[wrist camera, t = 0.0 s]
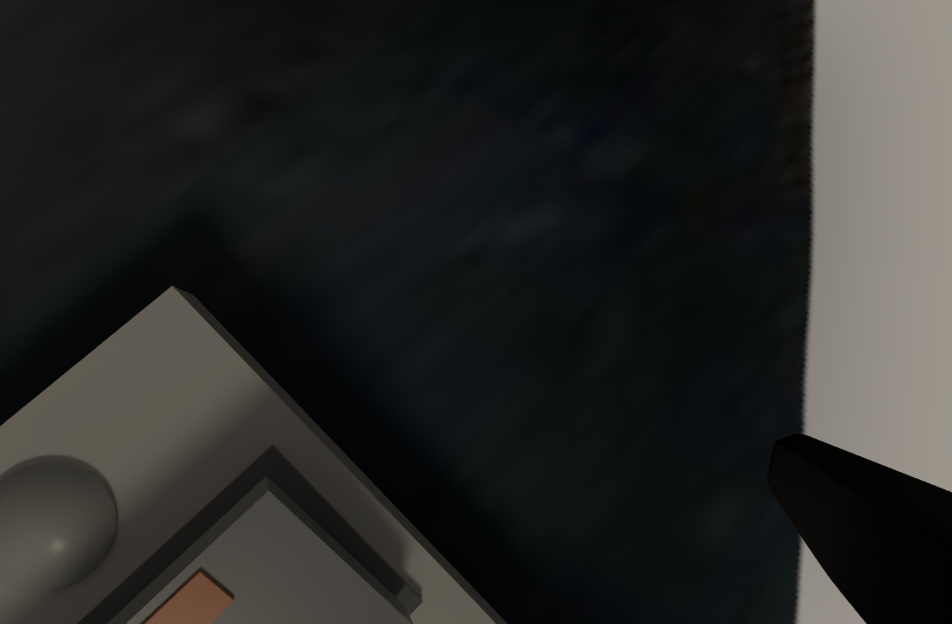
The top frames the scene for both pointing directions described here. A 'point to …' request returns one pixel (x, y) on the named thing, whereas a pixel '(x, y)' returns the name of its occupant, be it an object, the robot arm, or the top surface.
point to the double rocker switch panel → (181, 476)
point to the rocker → (265, 574)
